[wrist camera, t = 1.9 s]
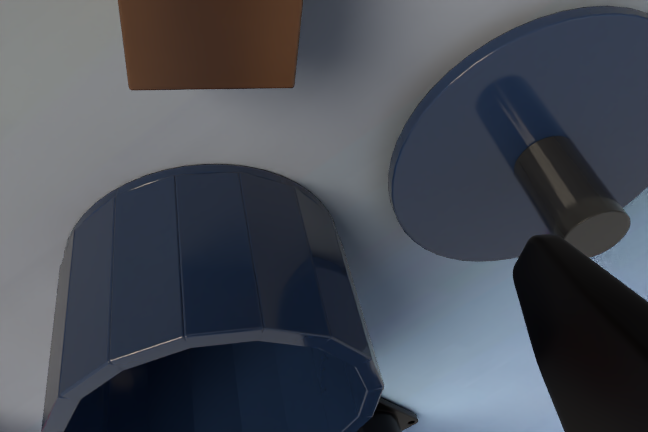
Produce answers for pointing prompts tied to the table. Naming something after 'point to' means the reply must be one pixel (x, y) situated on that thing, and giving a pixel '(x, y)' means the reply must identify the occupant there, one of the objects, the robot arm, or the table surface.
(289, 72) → the block
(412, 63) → the table surface
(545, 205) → the lid
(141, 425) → the pot
